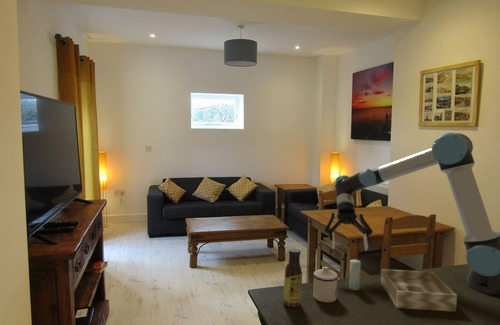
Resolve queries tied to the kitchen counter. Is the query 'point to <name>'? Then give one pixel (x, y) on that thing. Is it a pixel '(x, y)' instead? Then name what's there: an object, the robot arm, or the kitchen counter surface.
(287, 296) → the sauce bottle
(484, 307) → the kitchen counter surface
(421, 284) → the box
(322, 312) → the kitchen counter surface
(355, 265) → the peg
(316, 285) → the teacup with lid
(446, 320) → the kitchen counter surface
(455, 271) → the kitchen counter surface
